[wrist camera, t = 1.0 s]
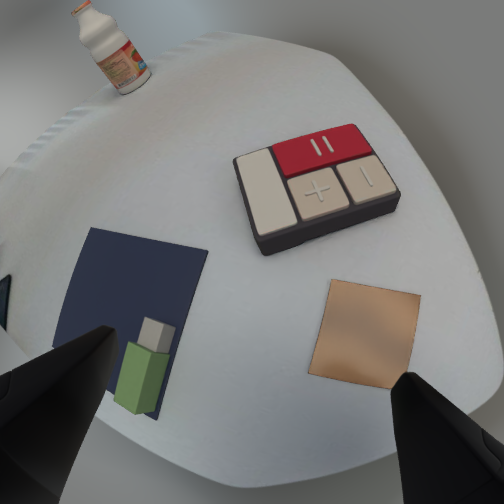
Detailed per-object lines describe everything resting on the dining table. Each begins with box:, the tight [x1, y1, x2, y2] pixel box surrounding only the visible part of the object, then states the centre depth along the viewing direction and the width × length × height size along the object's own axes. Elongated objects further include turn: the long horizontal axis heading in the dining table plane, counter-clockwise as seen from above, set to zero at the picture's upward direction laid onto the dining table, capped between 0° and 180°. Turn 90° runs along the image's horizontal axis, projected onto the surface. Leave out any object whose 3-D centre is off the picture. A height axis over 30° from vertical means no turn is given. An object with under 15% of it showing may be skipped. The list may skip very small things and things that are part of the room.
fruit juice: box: [71, 0, 151, 94], centre depth 42 cm, size 9×9×28 cm
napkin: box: [52, 227, 208, 420], centre depth 31 cm, size 20×22×1 cm
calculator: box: [233, 124, 401, 256], centre depth 28 cm, size 11×4×15 cm
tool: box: [114, 317, 176, 415], centre depth 25 cm, size 10×3×4 cm, turn 163°
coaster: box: [308, 279, 421, 389], centre depth 23 cm, size 9×9×1 cm
